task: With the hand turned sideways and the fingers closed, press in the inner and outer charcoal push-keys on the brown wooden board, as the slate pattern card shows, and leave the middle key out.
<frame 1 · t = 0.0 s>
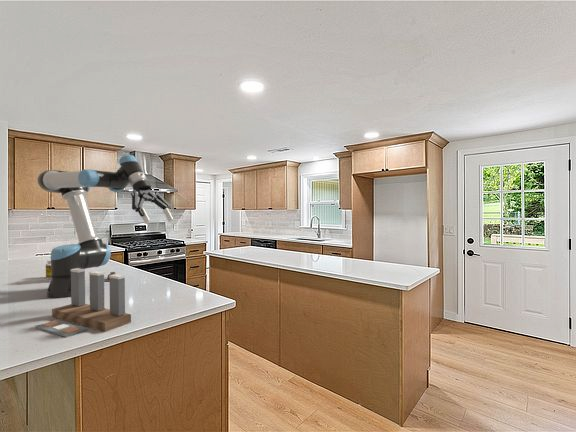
hand: (159, 221, 148), 36 cm above the counter, tool tilted 35°, fingers open, 13 cm apart
pattern card: (60, 328, 113), on the counter
key middle: (96, 290, 125), point 10 cm above the counter, slide at 0.0 cm
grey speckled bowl: (113, 280, 188), on the counter
supplement bottle: (51, 277, 192), on the counter
brown wooden board: (90, 319, 123), on the counter
key outer: (117, 294, 119), point 10 cm above the counter, slide at 0.0 cm
key inner: (78, 286, 130), point 10 cm above the counter, slide at 0.0 cm
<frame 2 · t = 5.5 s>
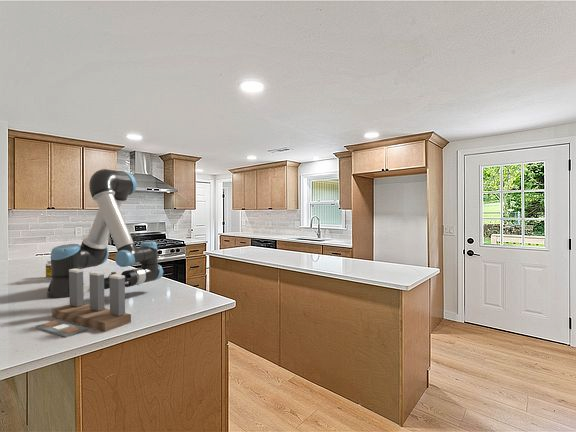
hand: (81, 289, 130), 9 cm above the counter, tool horizontal, fingers closed
key inner: (76, 287, 129), point 10 cm above the counter, slide at 0.7 cm, touching gripper
everything else where it was.
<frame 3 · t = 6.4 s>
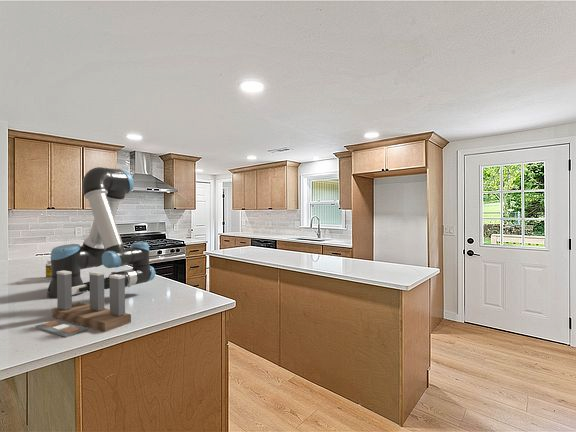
hand: (69, 291, 127), 9 cm above the counter, tool horizontal, fingers closed
key inner: (64, 289, 125), point 10 cm above the counter, slide at 5.1 cm, touching gripper
everything else where it was.
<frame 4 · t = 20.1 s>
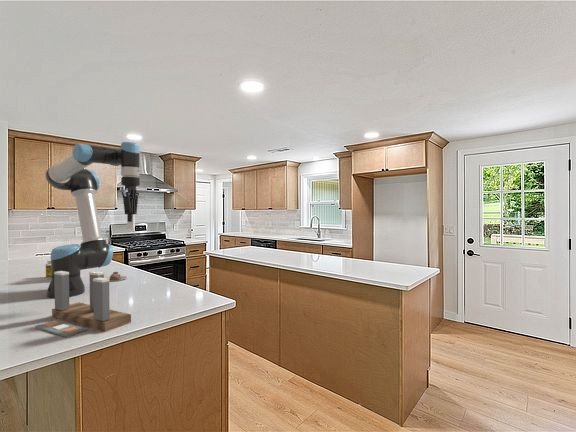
hand: (131, 228, 149), 32 cm above the counter, tool pointing down, fingers closed
key outer: (101, 298, 114), point 10 cm above the counter, slide at 6.1 cm
key inner: (61, 290, 125), point 10 cm above the counter, slide at 6.1 cm
at the end: key inner slide at 6.1 cm; key outer slide at 6.1 cm; key middle slide at 0.0 cm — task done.
